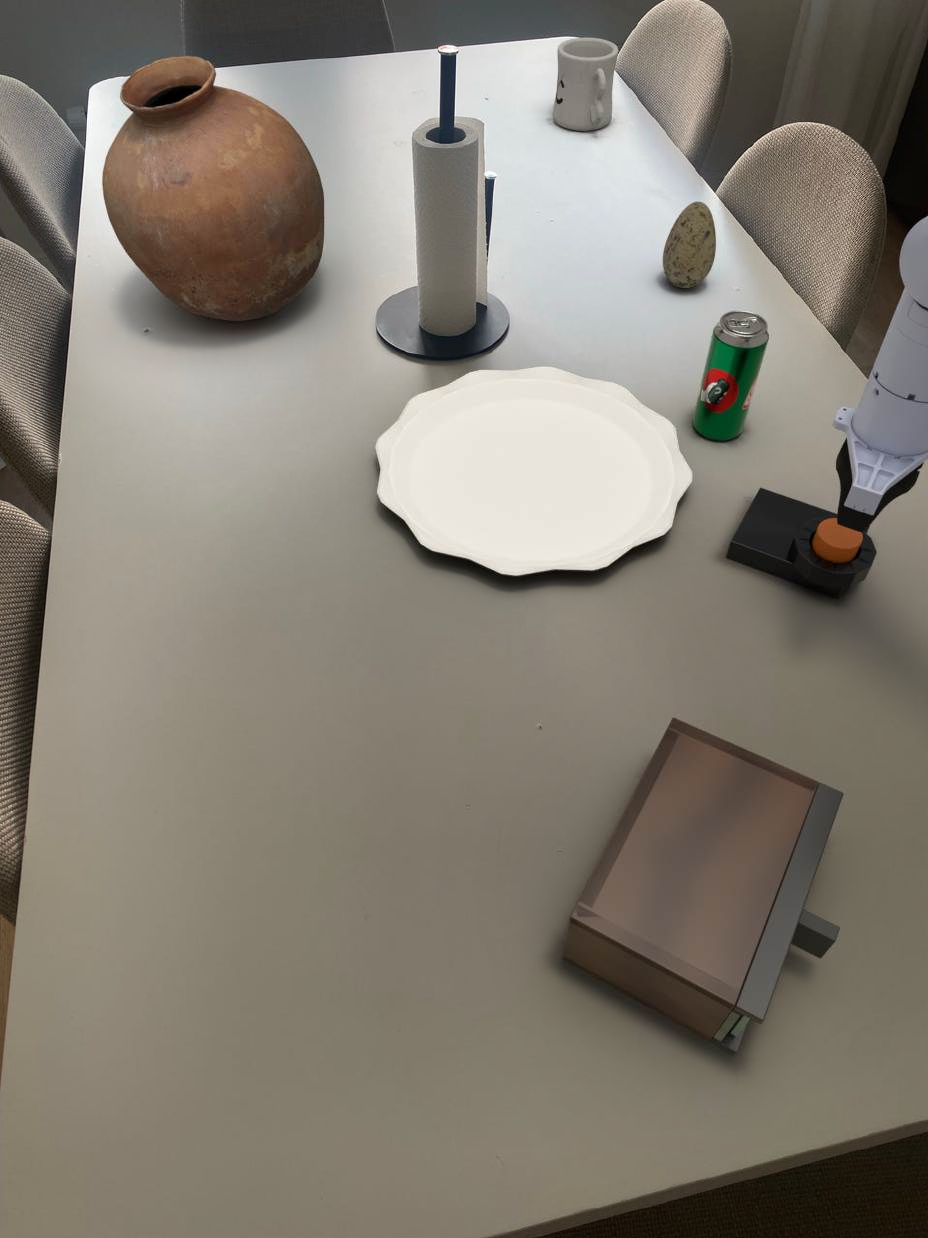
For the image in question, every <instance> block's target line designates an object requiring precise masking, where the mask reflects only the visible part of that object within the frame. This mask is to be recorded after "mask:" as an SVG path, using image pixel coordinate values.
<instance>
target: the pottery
mask: <svg viewBox="0 0 928 1238" xmlns="http://www.w3.org/2000/svg"><path fill="white" fill-rule="evenodd" d="M216 77H217V72H216V67H215V66H214V65H213V64H212V63H211V62H210V61H209V60H205V59H204V58H201V57H199V56H191V55H182V56H171V57H167V58H162V59H157V60H155V61H153V62H151V63H149V64H146V65H144V66H142V67H140V68H138V69H136V70H135V71H134V72H133V73H132V74H130V75H129V77H128V78H127V79H126V80H125V81H124V82H123V83H122V85H121V88H120V91H119V93H120V94H119V99H120V102H121V103H122V104H123V105H124V106H125V107H126V108H127V109H128V110H129V111H131V112H132V113H131V114H130V115H129V117H128V118H127V119H126V120H125V121H124V122H123V124H122V126H121V127H120V129H119V130H118V132H117V134H116V136H115V137H114V139H113V141H112V143H111V145H110V146H109V148H108V150H107V153H106V156H105V159H104V165H103V169H102V176H101V177H102V178H101V179H102V180H101V186H102V194H103V200H104V204H105V205H104V206H105V209H106V213H107V216H108V219H109V223H110V225H111V227H112V229H113V233H114V234H115V236H116V238H117V240H118V242H119V244H120V245H121V247H122V249H123V250H124V251H125V253H126V254H127V255H128V257H129V258H130V259H131V261H132V262H133V264H134V265H135V266H136V267H137V268H138V270H140V271H141V273H142V274H143V275H144V276H145V277H146V278H147V279H148V281H150V283H152V285H154V287H155V288H156V289H157V290H158V291H159V292H160V293H161V294H162V295H163V296H164V297H165V298H166V299H168V300H169V301H170V302H172V303H173V304H174V305H176V306H177V307H179V308H181V309H183V310H185V311H187V312H190V313H193V314H196V315H198V316H202V317H205V318H208V319H215V320H222V321H231V322H241V321H250V320H255V319H262V318H265V317H267V316H269V315H272V314H275V313H276V312H278V311H279V310H280V309H281V308H284V306H286V305H288V304H289V303H290V302H291V301H292V300H293V299H295V298H296V297H297V296H298V295H299V294H301V292H302V291H303V290H304V289H305V288H306V287H307V286H308V284H309V283H310V282H311V281H312V279H313V277H314V276H315V274H316V272H317V270H318V268H319V266H320V263H321V260H322V257H323V252H324V251H323V250H324V244H325V193H324V187H323V182H322V178H321V175H320V172H319V170H318V167H317V165H316V163H315V160H314V158H313V156H312V154H311V152H310V150H309V148H308V147H307V145H306V143H305V141H304V140H303V138H302V137H301V135H300V133H298V131H297V130H296V129H295V128H294V126H293V125H292V124H291V123H290V121H288V119H286V118H285V117H284V116H283V115H282V114H280V113H279V112H278V111H276V110H275V109H273V108H272V107H270V105H268V104H266V103H264V102H262V101H260V100H259V99H257V98H255V97H253V96H251V95H248V94H246V93H243V92H242V91H238V90H235V89H232V88H227V87H224V86H218V85H215V80H216Z"/></svg>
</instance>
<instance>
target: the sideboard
mask: <svg viewBox="0 0 928 1238" xmlns="http://www.w3.org/2000/svg"><path fill="white" fill-rule="evenodd" d="M844 795H845V794H844V792H843V791H840V790H838V789H836V788H833V787H832V786H830V785H827V784H825V783H823V782H819V781H818V780H816V779H814V778H812V777H809V776H808V775H805V774H802V773H800V772H798V771H796V770H793V769H791V768H789V767H787V766H785V765H782V764H780V763H779V762H776V761H773V760H771V759H769V758H767V757H765V756H762V755H760V754H757V753H755V752H754V751H753V752H752V751H750V750H748V749H746V748H744V747H742V746H739V745H737V744H735V743H733V742H730V741H729V740H725V739H724V738H721V737H719V736H717V735H714V734H713V733H710V732H708V731H706V730H703V729H701V728H699V727H696V726H694V725H692V724H690V723H687V722H685V721H683V720H681V719H678V718H676V717H671V720H670V722H669V724H668V726H667V728H666V730H665V732H664V733H663V736H662V737H661V739H660V741H659V743H658V745H657V747H656V749H655V750H654V753H653V755H652V757H651V759H650V760H649V762H648V764H647V766H646V769H644V771H643V774H642V776H641V778H640V780H639V781H638V783H637V785H636V788H635V789H634V791H633V794H632V795H631V797H630V799H629V801H628V803H627V805H626V808H625V809H624V811H623V813H622V815H621V817H620V819H619V821H618V822H617V824H616V826H615V828H614V830H613V832H612V834H611V836H610V838H609V840H608V842H607V843H606V846H605V848H604V850H603V852H602V854H601V855H600V857H599V859H598V861H597V863H596V864H595V867H594V869H593V871H592V872H591V875H590V876H589V879H588V880H587V883H586V885H585V887H584V888H583V890H582V892H581V894H580V896H579V897H578V899H577V902H576V904H575V905H574V908H573V910H572V911H571V914H570V915H569V919H568V924H567V930H566V934H565V939H564V944H563V949H562V952H561V953H562V954H561V956H560V958H561V960H562V961H564V962H566V963H568V964H570V965H572V966H573V967H575V968H577V969H578V970H580V971H582V972H583V973H586V974H587V975H589V976H591V977H593V978H595V979H597V980H598V981H600V982H602V983H604V984H606V985H607V986H609V987H611V988H613V989H615V990H616V991H618V992H620V993H622V994H623V995H625V996H627V997H629V998H631V999H632V1000H634V1001H636V1002H638V1003H639V1004H641V1005H643V1006H645V1007H647V1008H648V1009H650V1010H652V1011H654V1012H656V1013H658V1014H659V1015H661V1016H663V1017H664V1018H666V1019H668V1020H670V1021H671V1022H673V1023H675V1024H677V1025H679V1026H681V1027H682V1028H684V1029H686V1030H688V1031H690V1032H691V1033H693V1034H694V1035H697V1036H699V1037H700V1038H702V1039H704V1040H705V1041H708V1042H710V1043H711V1044H713V1045H715V1046H716V1047H719V1048H720V1049H722V1050H724V1051H726V1052H727V1053H729V1054H731V1055H733V1056H737V1055H738V1053H739V1051H740V1048H741V1045H742V1043H743V1040H744V1037H745V1034H746V1031H747V1029H748V1026H749V1023H750V1020H751V1021H752V1022H755V1023H757V1024H759V1025H761V1024H762V1023H763V1022H764V1021H765V1019H766V1016H767V1013H768V1010H769V1008H770V1004H771V1002H772V999H773V995H774V994H775V990H776V987H777V986H778V982H779V979H780V977H781V973H782V971H783V968H784V965H785V963H786V959H787V957H788V953H789V950H790V948H791V946H792V944H791V942H792V939H793V937H794V934H795V931H796V928H797V925H798V922H799V920H800V917H801V914H802V911H803V909H804V908H805V905H806V902H807V900H808V896H809V894H810V891H811V889H812V885H813V883H814V879H815V877H816V874H817V871H818V869H819V865H820V863H821V859H822V857H823V854H824V851H825V849H826V845H827V843H828V840H829V837H830V834H831V831H832V829H833V825H834V824H835V823H834V822H835V819H836V817H837V814H838V812H839V809H840V806H841V803H842V800H843V797H844ZM741 1014H742V1015H744V1016H746V1017H748V1018H749V1019H750V1020H749V1021H748V1022H747V1024H746V1025H745V1026H744V1028H743V1029H742V1030H741V1032H740V1033H739V1034H738V1035H737V1036H734V1035H733V1034H731V1030H732V1027H733V1025H734V1023H735V1022H736V1021H737V1019H738V1018H739V1017H740V1015H741Z"/></svg>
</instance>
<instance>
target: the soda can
mask: <svg viewBox="0 0 928 1238" xmlns="http://www.w3.org/2000/svg"><path fill="white" fill-rule="evenodd" d="M768 327H769V326H768V322H767V320H766V318H764V317H763V316H762V315H760V314H758V313H755V312H752V311H749V310H731V311H728V312H725V313H724V314H723V315H721V316H720V318H719V321H718V322H717V323H716V324H715V325H714V326H713V330H712V335H711V338H710V341H709V342H710V343H709V347H708V351H707V356H706V360H705V363H704V364H705V365H704V369H703V374H702V377H701V381H700V385H699V389H698V395H697V399H696V403H695V407H694V412H693V416H692V425H693V427H694V429H695V431H697V432H698V434H699V435H701V436H702V437H703V438H705V439H708V440H711V441H716V442H725V441H730V440H732V439H734V438H736V437H737V436H739V435H741V434H742V432H743V430H744V428H745V423H746V421H747V416H748V413H749V410H750V406H751V403H752V399H753V396H754V392H755V389H756V385H757V381H758V379H759V374H760V371H761V367H762V363H763V361H764V357H765V354H766V350H767V347H768V344H769V340H770V334H769V332H768Z"/></svg>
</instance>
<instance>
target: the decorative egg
mask: <svg viewBox="0 0 928 1238" xmlns="http://www.w3.org/2000/svg"><path fill="white" fill-rule="evenodd" d="M716 250H717V233H716V226H715V220H714V217H713V214H712V211H711V210H710V208H709V206H708V205H707V204H706V203H704V202H702V201H694V202H692V203H689V204H688V205H687V206H686V207H685V208H683V210H682V211H681V213H680V214H679V215H678V216H677V218H676V220H675V221H674V223H673V225H672V227H671V229H670V231H669V233H668V236H667V238H666V241H665V244H664V248H663V252H662V269H663V272H664V275H665V276H666V279H667V280H668V281H669V282H670V283H671V284H672V285H673V286H675V287H677V288H681V289H690V288H694V287H696V286H698V285H699V284H701V283H702V282H703V281H704V280H706V278H707V276H708V275H709V274H710V272H711V270H712V268H713V266H714V263H715V258H716V253H717V252H716Z"/></svg>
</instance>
